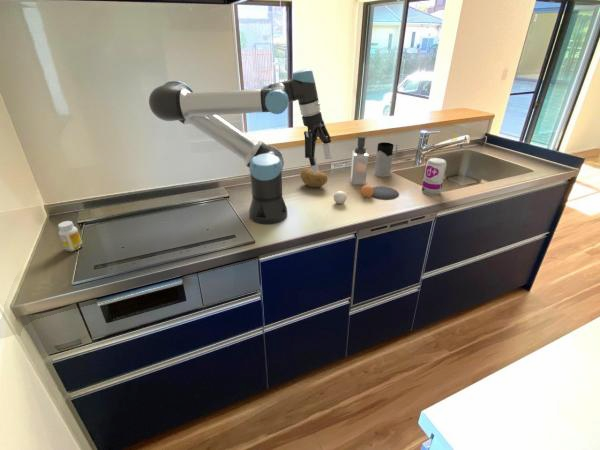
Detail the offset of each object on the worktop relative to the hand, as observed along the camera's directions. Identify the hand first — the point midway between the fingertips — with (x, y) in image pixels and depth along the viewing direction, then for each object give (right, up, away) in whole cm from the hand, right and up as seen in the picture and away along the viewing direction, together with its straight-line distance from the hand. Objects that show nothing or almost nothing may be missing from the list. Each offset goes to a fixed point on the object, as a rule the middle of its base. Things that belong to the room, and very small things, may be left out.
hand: (322, 165), depth 141 cm
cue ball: (+8, -13, +4) cm, 16 cm away
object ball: (+20, -10, +9) cm, 24 cm away
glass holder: (+35, +3, +36) cm, 51 cm away
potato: (-3, -7, +21) cm, 22 cm away
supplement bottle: (-86, -33, -24) cm, 95 cm away
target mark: (+28, -10, +14) cm, 33 cm away
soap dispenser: (+19, -3, +26) cm, 33 cm away
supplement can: (+50, -10, +15) cm, 53 cm away
